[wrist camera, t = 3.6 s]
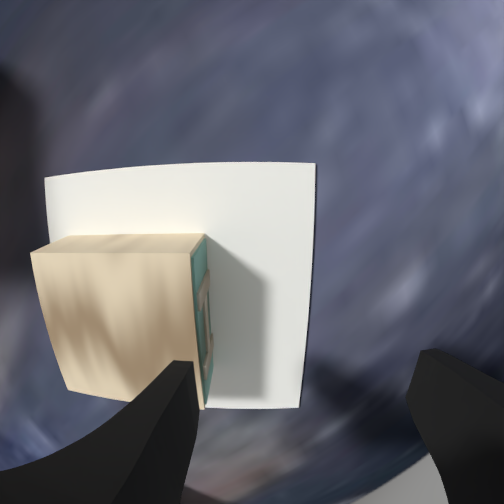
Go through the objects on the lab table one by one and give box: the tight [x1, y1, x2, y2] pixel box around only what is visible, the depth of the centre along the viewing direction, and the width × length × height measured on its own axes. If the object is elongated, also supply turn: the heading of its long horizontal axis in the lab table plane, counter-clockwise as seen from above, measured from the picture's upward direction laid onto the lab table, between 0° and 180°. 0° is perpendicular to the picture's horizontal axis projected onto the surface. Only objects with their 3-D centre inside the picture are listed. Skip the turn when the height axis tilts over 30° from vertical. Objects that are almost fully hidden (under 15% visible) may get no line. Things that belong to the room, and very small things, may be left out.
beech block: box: [30, 233, 214, 410], centre depth 13 cm, size 7×3×7 cm
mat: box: [45, 162, 315, 409], centre depth 14 cm, size 13×13×1 cm
